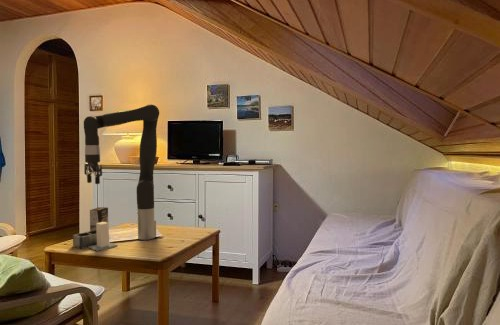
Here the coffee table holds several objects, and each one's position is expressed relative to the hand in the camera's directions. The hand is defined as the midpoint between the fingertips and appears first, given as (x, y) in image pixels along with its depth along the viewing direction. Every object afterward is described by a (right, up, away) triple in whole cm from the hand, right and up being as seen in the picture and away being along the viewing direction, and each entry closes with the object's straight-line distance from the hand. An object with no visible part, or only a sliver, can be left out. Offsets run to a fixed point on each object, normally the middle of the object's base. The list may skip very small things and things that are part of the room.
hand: (93, 183), depth 207 cm
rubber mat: (+8, -33, -8) cm, 35 cm away
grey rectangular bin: (-1, -33, -3) cm, 33 cm away
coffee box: (-2, -31, +13) cm, 34 cm away
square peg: (+8, -32, -8) cm, 34 cm away
